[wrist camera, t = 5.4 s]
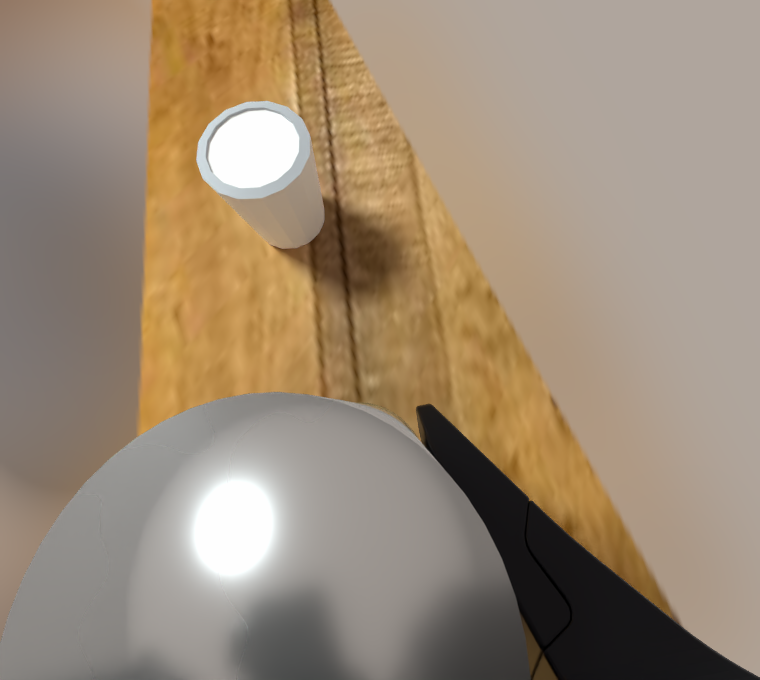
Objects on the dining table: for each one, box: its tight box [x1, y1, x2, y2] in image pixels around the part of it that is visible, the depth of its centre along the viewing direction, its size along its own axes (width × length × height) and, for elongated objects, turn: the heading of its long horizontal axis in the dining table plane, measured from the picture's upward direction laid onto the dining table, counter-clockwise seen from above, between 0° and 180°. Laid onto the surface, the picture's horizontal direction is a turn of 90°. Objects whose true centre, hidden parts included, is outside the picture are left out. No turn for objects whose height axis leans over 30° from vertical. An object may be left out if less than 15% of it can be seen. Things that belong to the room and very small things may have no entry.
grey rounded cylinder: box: [0, 392, 531, 680], centre depth 8 cm, size 4×4×12 cm
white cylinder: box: [196, 101, 324, 249], centre depth 22 cm, size 7×7×7 cm
